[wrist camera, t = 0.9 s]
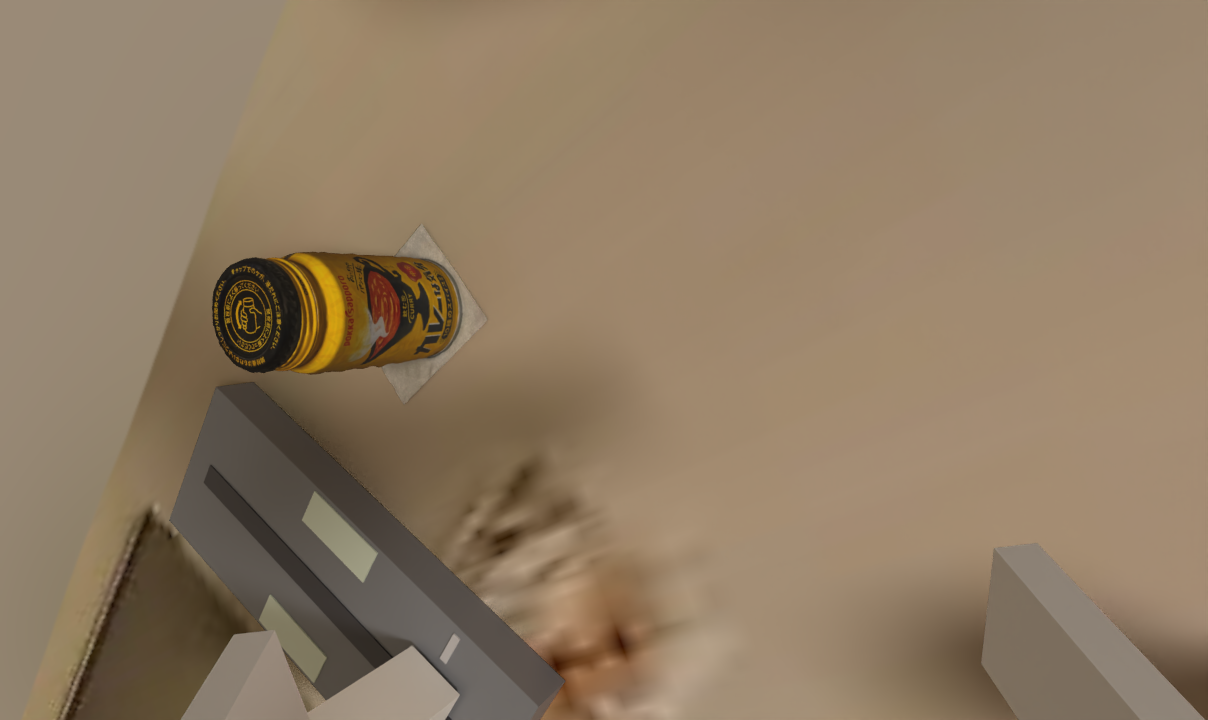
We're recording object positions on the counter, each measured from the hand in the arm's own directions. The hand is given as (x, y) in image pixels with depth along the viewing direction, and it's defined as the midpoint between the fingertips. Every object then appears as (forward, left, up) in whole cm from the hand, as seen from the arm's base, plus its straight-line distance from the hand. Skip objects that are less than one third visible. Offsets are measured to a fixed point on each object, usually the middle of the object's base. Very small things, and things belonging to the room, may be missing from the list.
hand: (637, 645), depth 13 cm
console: (+14, -30, -21) cm, 39 cm away
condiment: (-4, -25, -22) cm, 33 cm away
